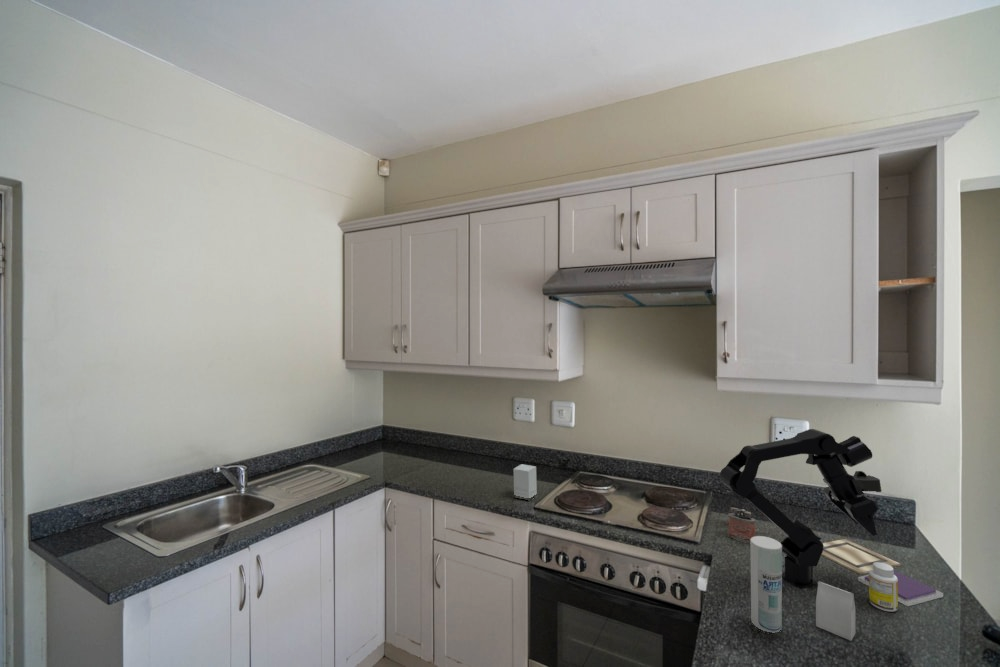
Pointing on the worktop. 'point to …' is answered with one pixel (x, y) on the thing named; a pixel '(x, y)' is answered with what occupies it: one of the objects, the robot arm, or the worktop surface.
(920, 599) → the ink pad
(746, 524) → the lighter
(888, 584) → the supplement bottle
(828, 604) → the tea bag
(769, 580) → the spray can
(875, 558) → the board
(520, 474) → the supplement box
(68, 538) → the worktop surface
